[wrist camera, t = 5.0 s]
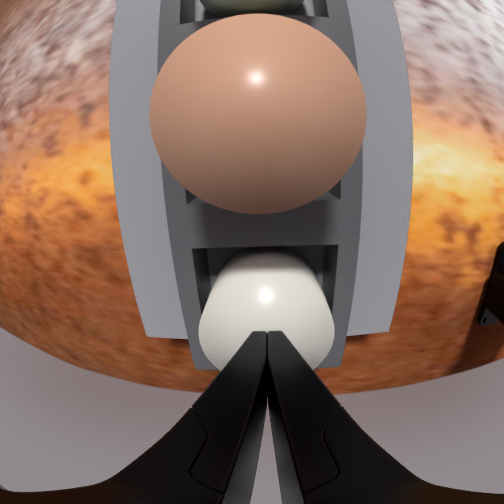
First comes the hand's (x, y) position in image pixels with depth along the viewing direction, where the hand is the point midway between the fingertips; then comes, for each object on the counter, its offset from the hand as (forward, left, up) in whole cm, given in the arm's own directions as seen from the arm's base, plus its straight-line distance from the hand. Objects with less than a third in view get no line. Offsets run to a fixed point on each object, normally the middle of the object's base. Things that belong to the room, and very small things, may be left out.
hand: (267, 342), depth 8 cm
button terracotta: (0, -6, -1) cm, 6 cm away
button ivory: (0, 0, -3) cm, 3 cm away
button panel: (0, -6, -6) cm, 9 cm away
